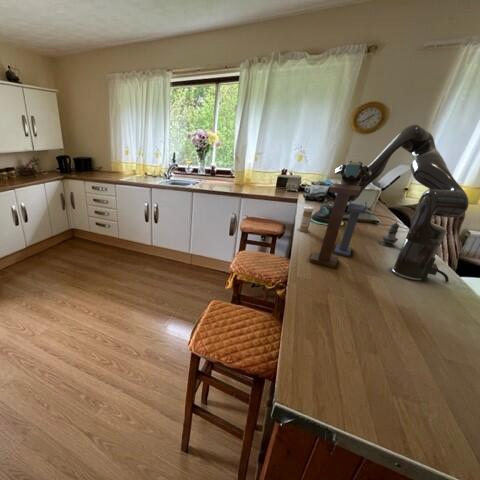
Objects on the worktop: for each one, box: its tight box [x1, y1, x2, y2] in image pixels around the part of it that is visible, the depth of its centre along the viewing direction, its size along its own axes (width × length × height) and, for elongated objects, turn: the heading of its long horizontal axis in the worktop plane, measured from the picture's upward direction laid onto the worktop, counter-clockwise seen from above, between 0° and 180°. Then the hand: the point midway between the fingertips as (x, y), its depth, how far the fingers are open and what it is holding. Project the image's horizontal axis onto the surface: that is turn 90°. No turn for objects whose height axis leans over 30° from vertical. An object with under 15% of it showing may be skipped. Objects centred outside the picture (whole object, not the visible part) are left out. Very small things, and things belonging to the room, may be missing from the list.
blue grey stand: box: [333, 200, 368, 258], centre depth 114 cm, size 6×10×23 cm, turn 142°
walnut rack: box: [309, 183, 361, 269], centre depth 103 cm, size 9×10×32 cm
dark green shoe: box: [310, 204, 344, 226], centre depth 160 cm, size 15×19×20 cm
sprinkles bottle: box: [298, 206, 314, 233], centre depth 141 cm, size 5×5×14 cm
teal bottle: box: [344, 161, 362, 176], centre depth 103 cm, size 4×19×4 cm, turn 142°
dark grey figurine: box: [380, 221, 400, 248], centre depth 124 cm, size 6×6×12 cm
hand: (354, 163), depth 105 cm, fingers closed on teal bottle, 2 cm apart
